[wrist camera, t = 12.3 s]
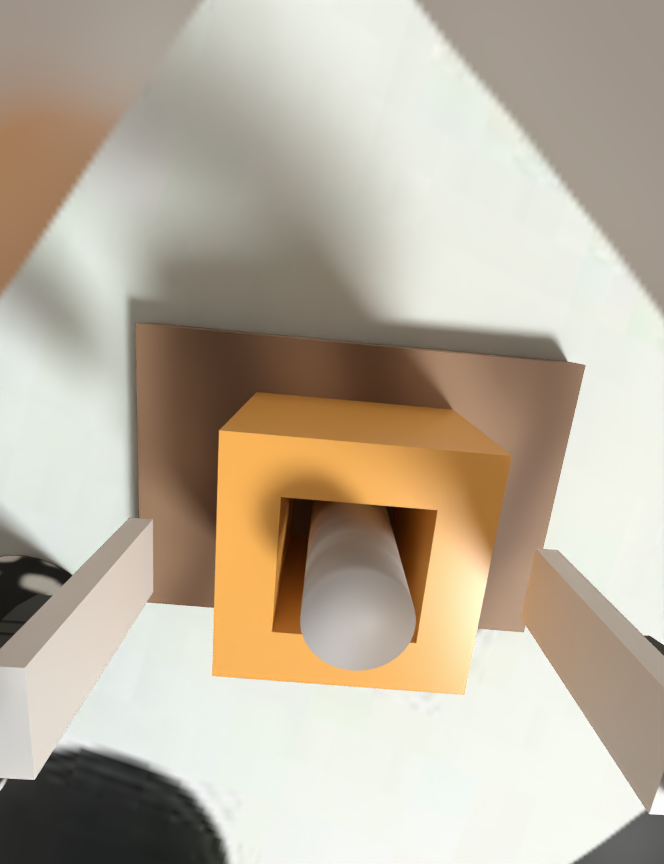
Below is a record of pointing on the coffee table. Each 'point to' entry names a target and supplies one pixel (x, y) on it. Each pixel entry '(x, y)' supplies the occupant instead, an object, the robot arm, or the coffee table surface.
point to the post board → (343, 372)
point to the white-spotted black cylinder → (26, 585)
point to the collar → (364, 484)
